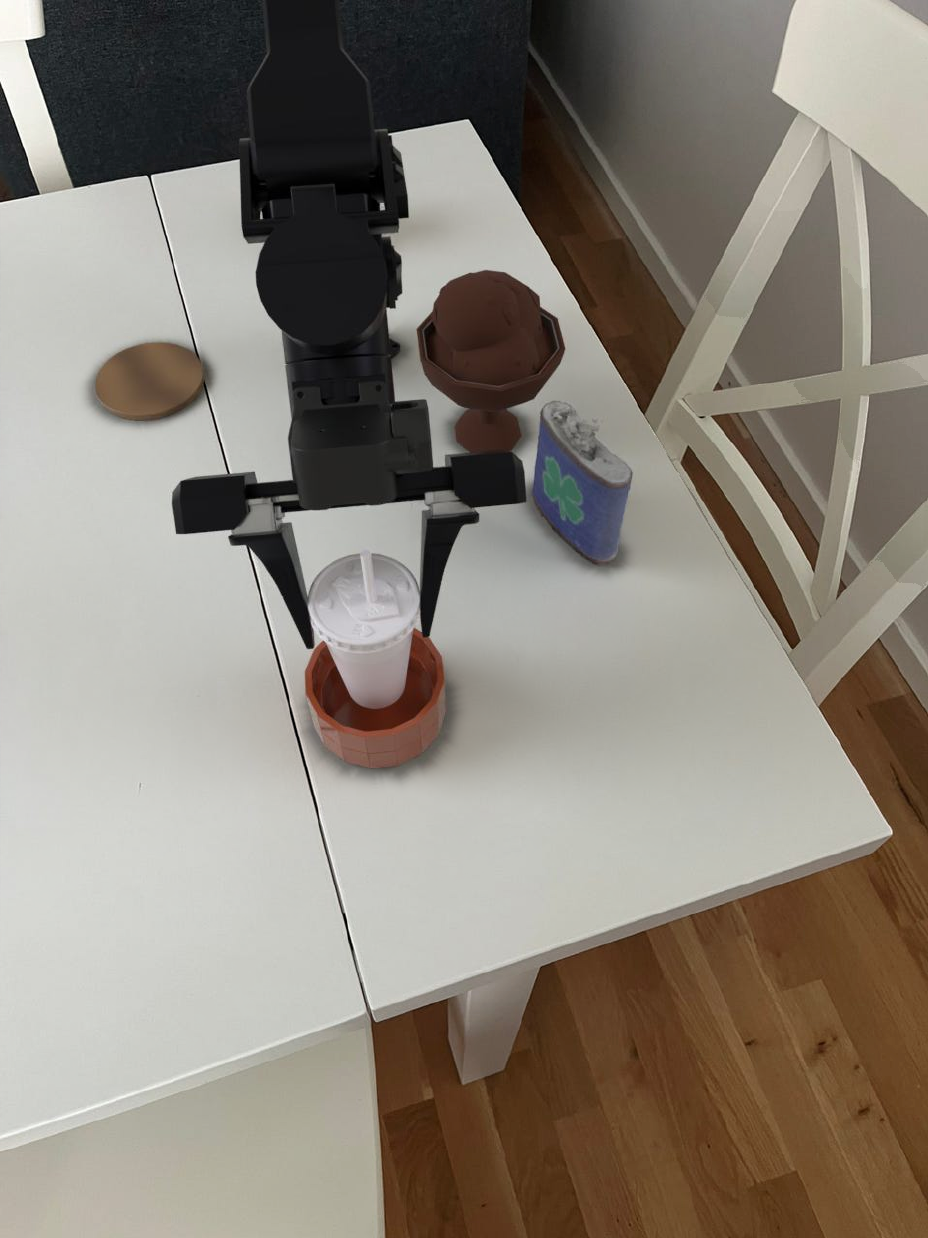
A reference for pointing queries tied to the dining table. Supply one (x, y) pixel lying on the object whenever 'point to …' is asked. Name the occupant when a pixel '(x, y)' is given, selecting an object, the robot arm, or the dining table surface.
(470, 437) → the ice cream bowl
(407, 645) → the smoothie
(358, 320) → the robot arm
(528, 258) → the dining table surface
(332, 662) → the bowl
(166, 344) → the coaster
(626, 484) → the flask
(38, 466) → the dining table surface
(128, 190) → the dining table surface
